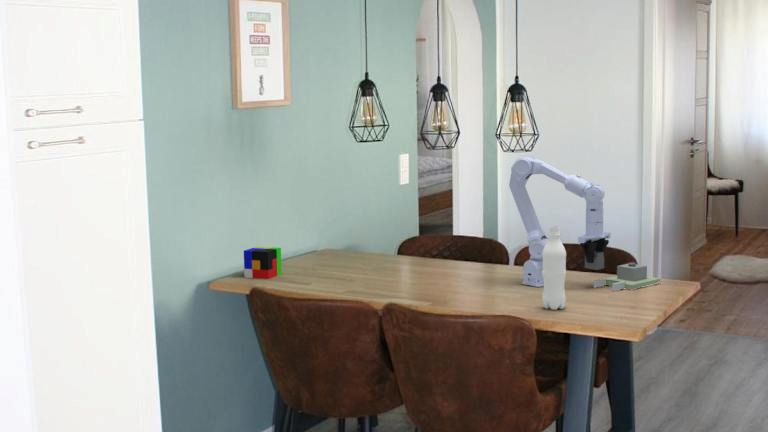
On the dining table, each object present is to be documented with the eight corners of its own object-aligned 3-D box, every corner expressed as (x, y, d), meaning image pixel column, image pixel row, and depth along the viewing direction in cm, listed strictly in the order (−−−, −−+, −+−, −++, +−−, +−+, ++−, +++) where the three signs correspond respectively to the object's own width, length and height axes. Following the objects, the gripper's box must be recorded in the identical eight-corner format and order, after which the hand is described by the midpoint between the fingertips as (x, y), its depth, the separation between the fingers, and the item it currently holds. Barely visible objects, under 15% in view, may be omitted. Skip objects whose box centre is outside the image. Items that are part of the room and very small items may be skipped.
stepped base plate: (621, 292, 312) (621, 271, 311) (589, 286, 322) (589, 265, 321) (660, 283, 325) (660, 262, 324) (628, 278, 335) (629, 258, 334)
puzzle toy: (244, 277, 349) (243, 250, 348) (258, 272, 359) (257, 246, 357) (268, 279, 346) (267, 252, 344) (281, 274, 355) (280, 247, 354)
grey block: (596, 269, 318) (596, 253, 317) (584, 267, 322) (584, 251, 321) (604, 268, 320) (604, 252, 319) (592, 266, 324) (592, 250, 323)
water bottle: (551, 311, 287) (552, 229, 283) (537, 307, 293) (537, 226, 290) (570, 308, 290) (571, 227, 287) (556, 304, 296) (556, 224, 293)
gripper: (590, 225, 311) (589, 266, 313) (617, 220, 320) (617, 260, 322) (573, 223, 317) (573, 263, 318) (600, 218, 326) (600, 258, 327)
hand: (594, 261), depth 321 cm, fingers closed on grey block, 4 cm apart
